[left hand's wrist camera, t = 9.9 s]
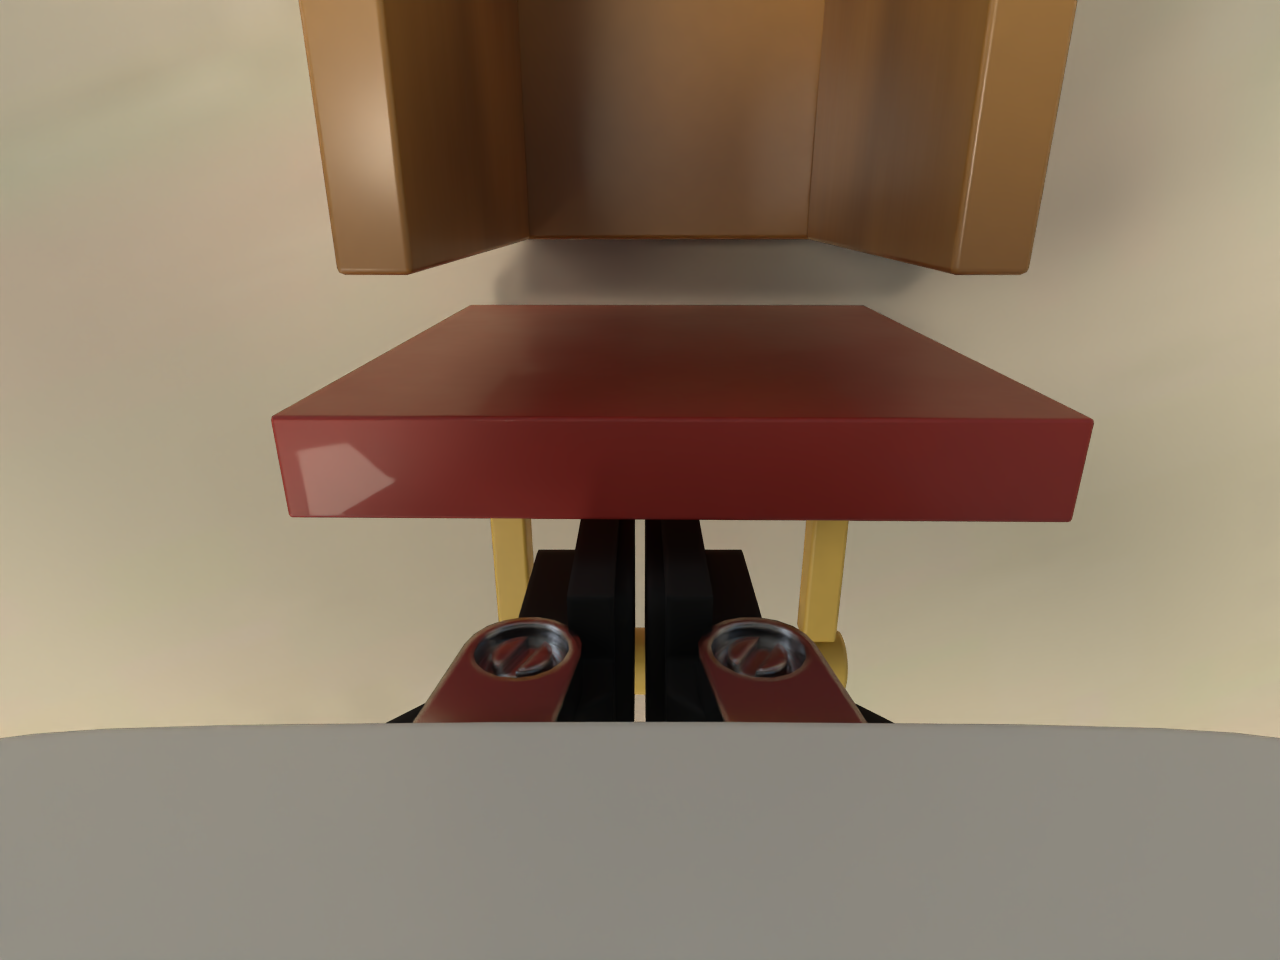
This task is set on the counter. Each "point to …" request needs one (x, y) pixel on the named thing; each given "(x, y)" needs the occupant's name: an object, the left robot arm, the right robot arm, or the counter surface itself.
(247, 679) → the counter surface
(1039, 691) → the counter surface
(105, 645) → the counter surface
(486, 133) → the drawer
